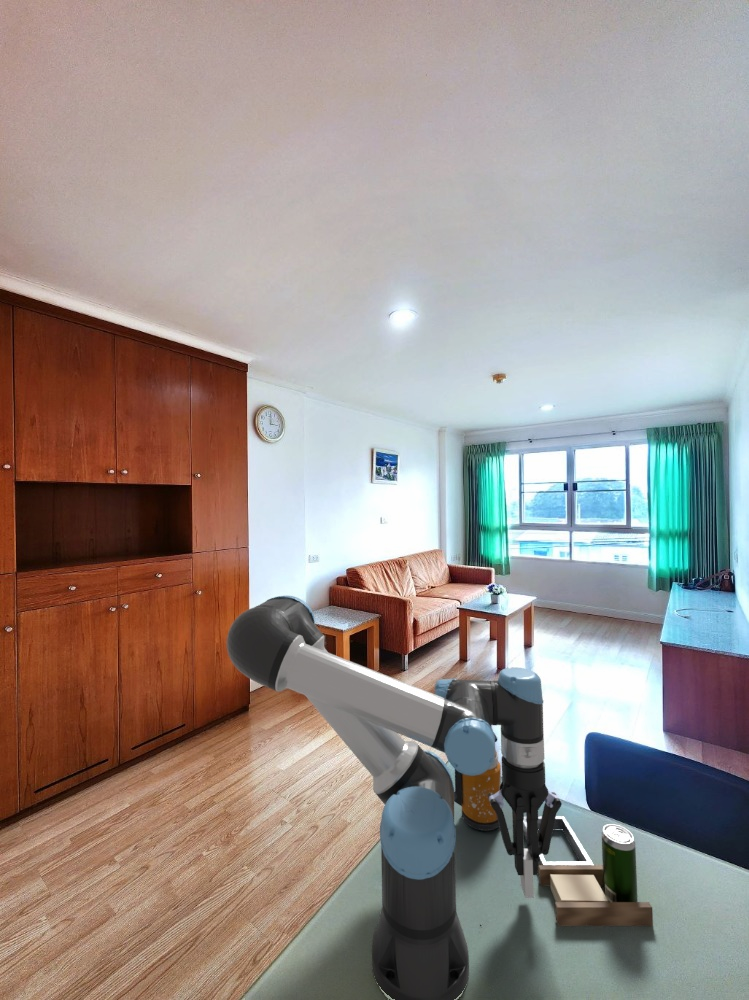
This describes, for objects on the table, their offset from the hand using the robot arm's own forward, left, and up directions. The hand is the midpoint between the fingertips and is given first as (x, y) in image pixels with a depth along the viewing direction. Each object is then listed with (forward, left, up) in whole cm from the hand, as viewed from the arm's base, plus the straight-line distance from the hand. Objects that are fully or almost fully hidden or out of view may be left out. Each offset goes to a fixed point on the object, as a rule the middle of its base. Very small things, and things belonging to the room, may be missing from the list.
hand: (527, 891), depth 78 cm
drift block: (+9, 0, -2) cm, 10 cm away
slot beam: (+12, 0, -2) cm, 12 cm away
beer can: (+17, 0, -2) cm, 17 cm away
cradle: (+10, +12, -2) cm, 16 cm away
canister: (-4, +22, -2) cm, 22 cm away
